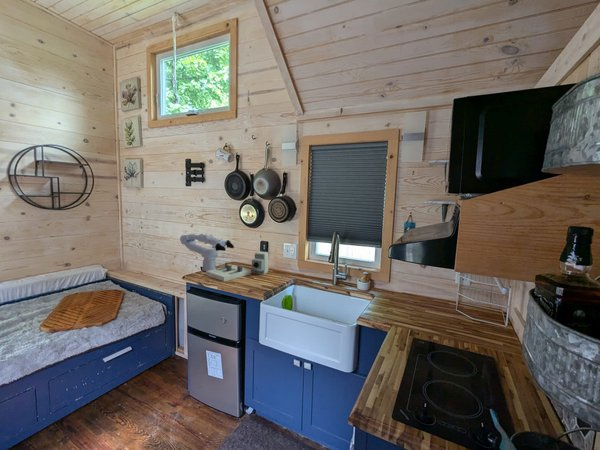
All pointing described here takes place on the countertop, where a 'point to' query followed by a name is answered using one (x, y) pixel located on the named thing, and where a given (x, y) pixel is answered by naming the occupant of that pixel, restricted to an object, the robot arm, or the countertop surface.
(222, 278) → the breaker panel
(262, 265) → the circuit breaker
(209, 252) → the robot arm
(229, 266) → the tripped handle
